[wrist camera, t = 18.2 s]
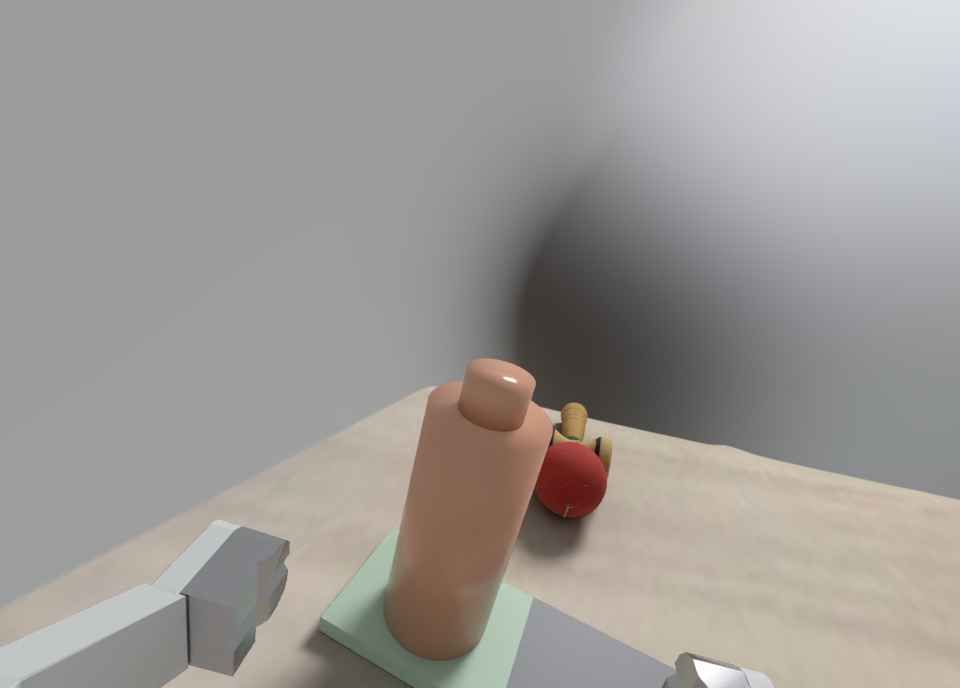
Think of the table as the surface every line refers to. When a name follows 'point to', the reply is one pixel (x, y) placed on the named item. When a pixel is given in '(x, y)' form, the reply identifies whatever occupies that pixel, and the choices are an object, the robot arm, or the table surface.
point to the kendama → (574, 467)
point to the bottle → (464, 508)
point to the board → (489, 642)
